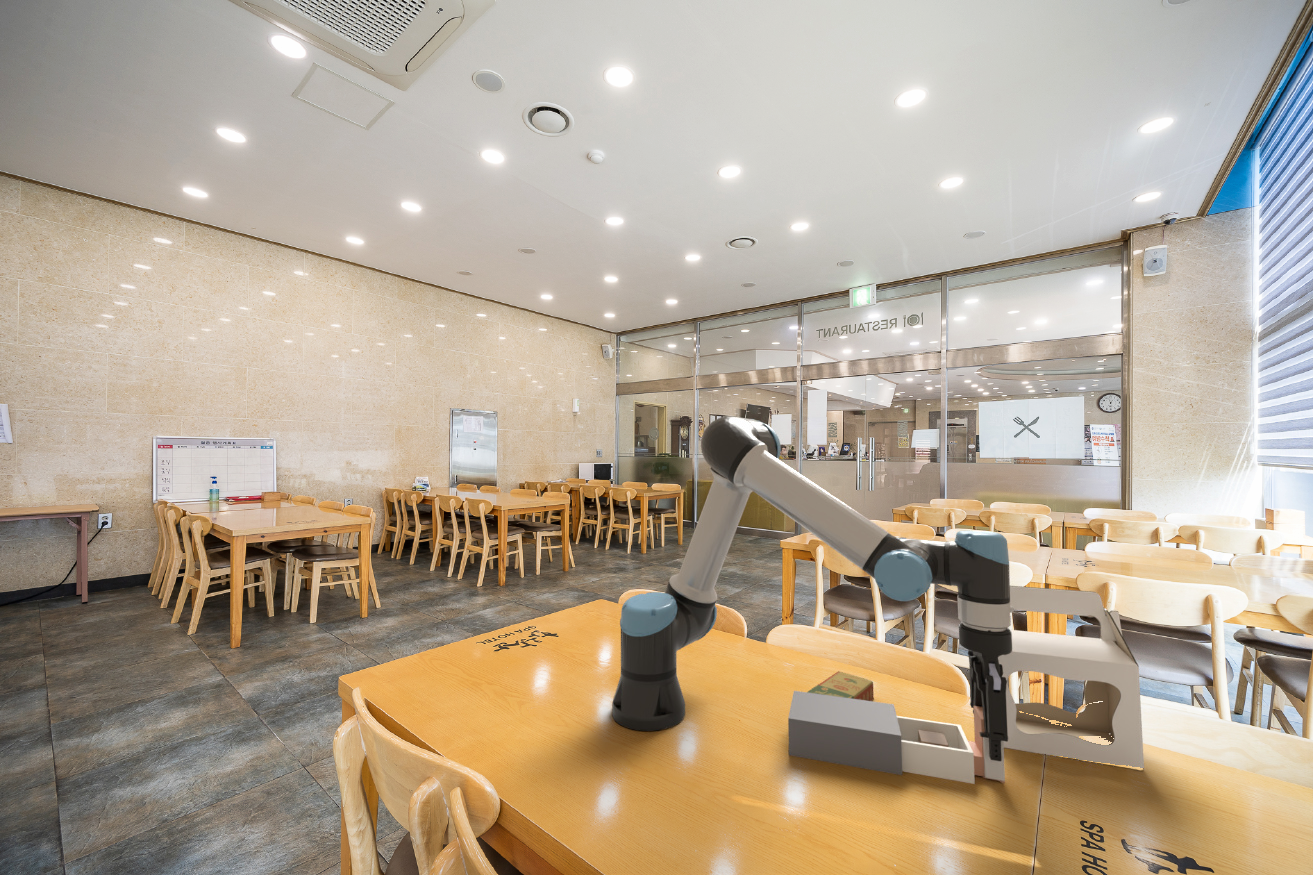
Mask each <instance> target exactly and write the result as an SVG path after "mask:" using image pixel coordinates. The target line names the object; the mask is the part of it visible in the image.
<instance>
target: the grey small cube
mask: <svg viewBox="0 0 1313 875" xmlns="http://www.w3.org/2000/svg"><path fill="white" fill-rule="evenodd" d="M918 743H924V744H931V745H937V746H944V747H948V743H947V741H946V738H945V736H944V734H942V733H936V732H929V731H922V730H918Z"/></svg>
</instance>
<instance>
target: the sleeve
mask: <svg viewBox="0 0 1313 875" xmlns="http://www.w3.org/2000/svg"><path fill="white" fill-rule="evenodd" d="M807 692H808V691H799V690H793V694H792V697H791V698H792V699H791V703H790V707H789V713H788V719H787V720H788V721H787V722H788V723H787V725H788V730H787V731H788V755H789V756H792V757H796V758H804V759H809V760H814V761H815V760H816V761H818V762H825V763H831V764H837V765H843V766H849V767H853V768H860V769H866V770H872V771H875V772H877V771H878V772H882V773H888V774H893V775H899V776H903V771H902V747H901V733H900V728H899V724H898V720H897V716H898V715H897V712H896V708H895V704H893V703H888V702H887V703H886V702H881V701H880V702H879V701H872V700H871V701H866V700H858V699H851V698H844V697H836V696H829V695H822V694H814V693H807Z"/></svg>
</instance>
